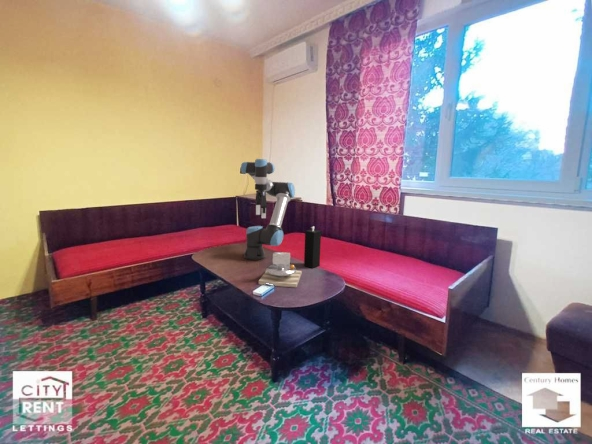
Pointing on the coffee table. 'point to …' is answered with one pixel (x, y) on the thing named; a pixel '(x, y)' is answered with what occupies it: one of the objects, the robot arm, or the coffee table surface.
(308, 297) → the coffee table surface
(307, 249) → the black pillar candle
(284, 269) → the handwheel
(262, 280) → the base plate
